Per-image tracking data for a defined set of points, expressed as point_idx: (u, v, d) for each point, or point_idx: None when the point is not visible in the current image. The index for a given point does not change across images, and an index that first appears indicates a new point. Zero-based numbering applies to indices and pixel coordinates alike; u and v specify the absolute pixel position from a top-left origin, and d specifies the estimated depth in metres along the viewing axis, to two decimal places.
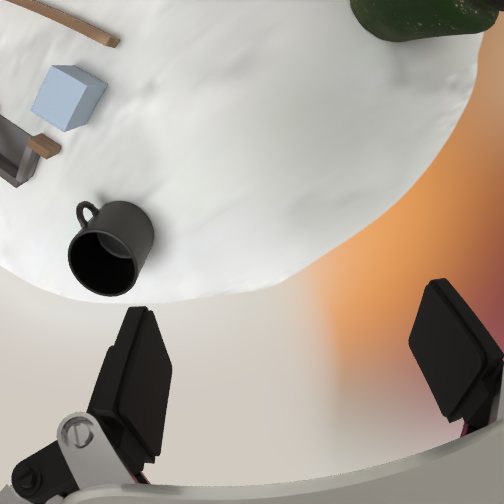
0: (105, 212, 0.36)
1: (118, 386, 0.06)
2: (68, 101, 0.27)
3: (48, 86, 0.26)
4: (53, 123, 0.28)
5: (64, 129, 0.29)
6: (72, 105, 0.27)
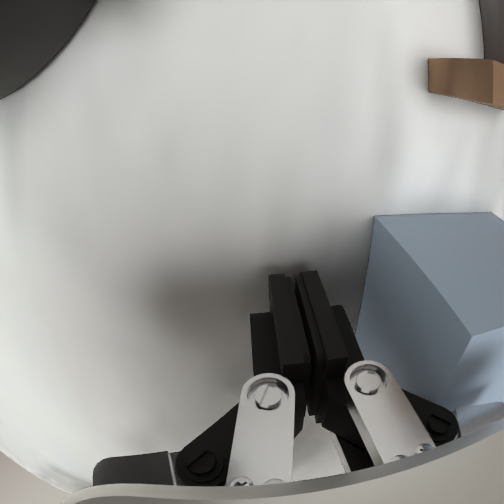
0: None
1: (299, 341, 0.07)
2: None
3: None
4: None
5: (470, 344, 0.05)
6: None
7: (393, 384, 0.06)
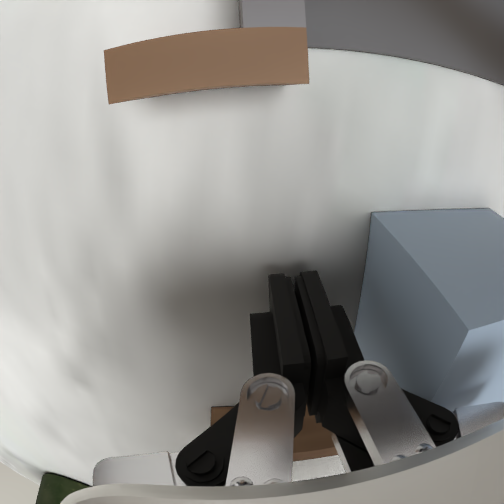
0: None
1: (300, 341, 0.07)
2: (456, 405, 0.07)
3: None
4: None
5: (467, 338, 0.05)
6: None
7: (393, 384, 0.06)
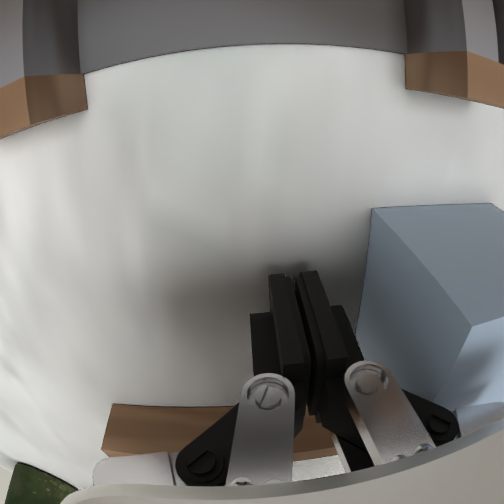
0: None
1: (299, 340, 0.07)
2: (460, 402, 0.07)
3: None
4: None
5: (470, 334, 0.05)
6: (442, 406, 0.07)
7: (393, 384, 0.06)
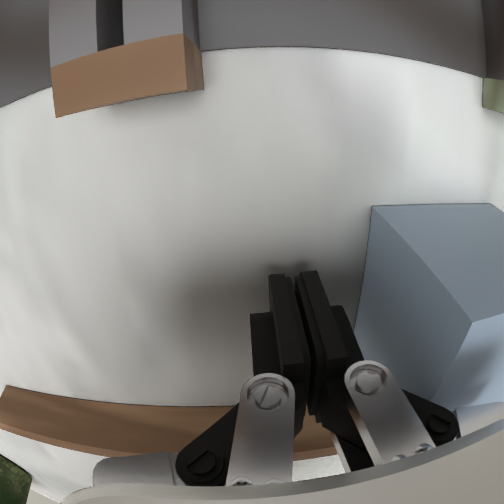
0: None
1: (300, 341, 0.07)
2: (459, 400, 0.07)
3: None
4: None
5: (470, 330, 0.05)
6: (441, 404, 0.07)
7: (393, 384, 0.06)
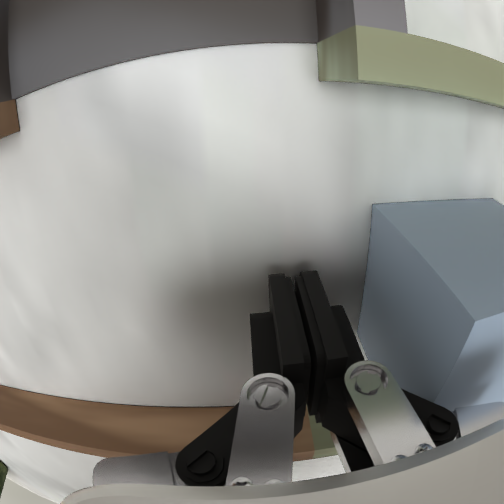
0: None
1: (299, 341, 0.07)
2: (464, 399, 0.07)
3: None
4: None
5: (473, 329, 0.05)
6: (446, 403, 0.06)
7: (393, 384, 0.06)
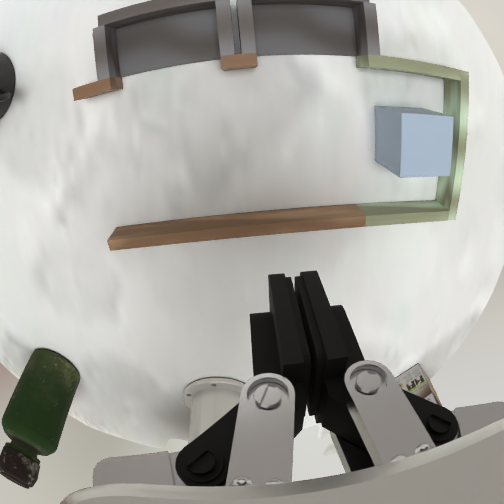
0: None
1: (299, 341, 0.07)
2: (413, 150, 0.24)
3: (443, 153, 0.24)
4: (419, 116, 0.23)
5: (402, 116, 0.23)
6: (406, 148, 0.24)
7: (393, 384, 0.06)
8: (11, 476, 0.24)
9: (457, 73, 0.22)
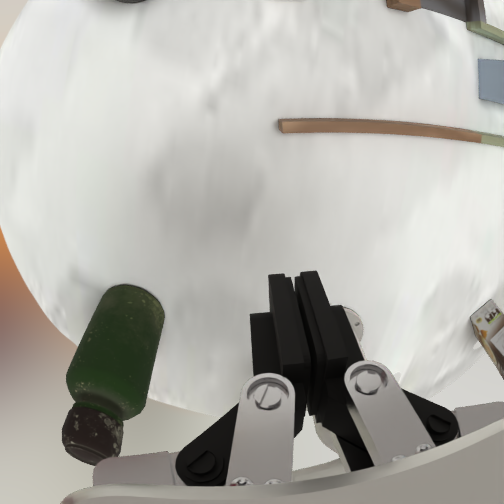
0: None
1: (299, 340, 0.07)
2: None
3: None
4: None
5: None
6: None
7: (393, 384, 0.06)
8: (88, 449, 0.23)
9: None
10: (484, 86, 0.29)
